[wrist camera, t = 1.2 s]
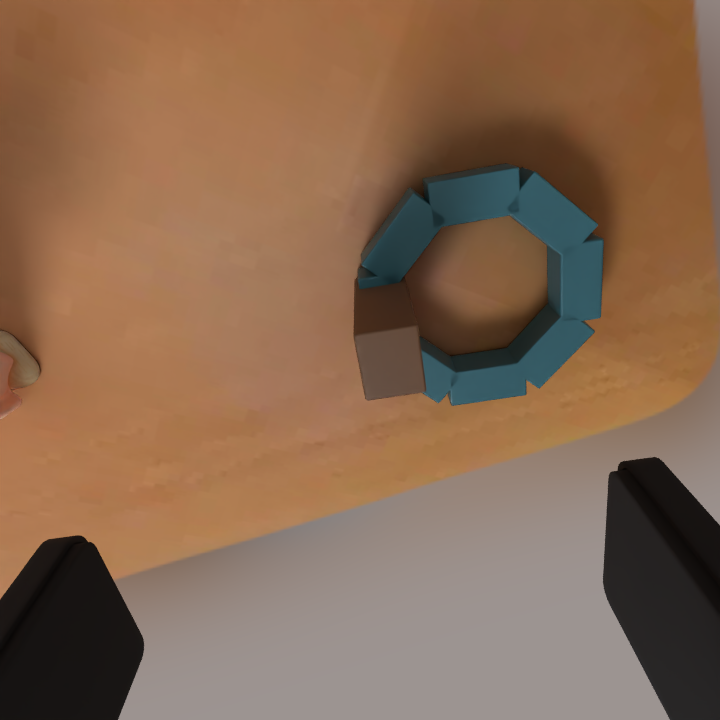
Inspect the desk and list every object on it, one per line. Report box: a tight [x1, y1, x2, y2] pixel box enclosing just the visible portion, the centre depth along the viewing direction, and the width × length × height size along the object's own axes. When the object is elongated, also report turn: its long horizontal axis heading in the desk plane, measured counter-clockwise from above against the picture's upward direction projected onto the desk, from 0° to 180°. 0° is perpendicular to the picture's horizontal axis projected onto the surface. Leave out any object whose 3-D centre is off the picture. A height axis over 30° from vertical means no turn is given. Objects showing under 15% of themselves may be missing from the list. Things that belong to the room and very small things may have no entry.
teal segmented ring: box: [354, 163, 604, 406], centre depth 18 cm, size 9×9×6 cm
